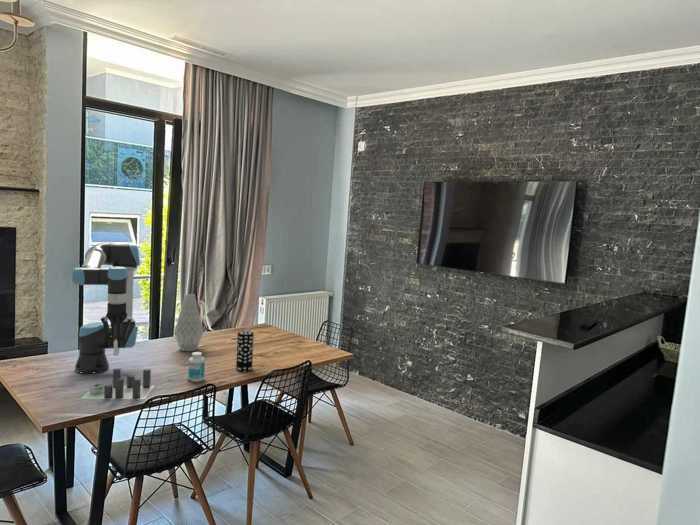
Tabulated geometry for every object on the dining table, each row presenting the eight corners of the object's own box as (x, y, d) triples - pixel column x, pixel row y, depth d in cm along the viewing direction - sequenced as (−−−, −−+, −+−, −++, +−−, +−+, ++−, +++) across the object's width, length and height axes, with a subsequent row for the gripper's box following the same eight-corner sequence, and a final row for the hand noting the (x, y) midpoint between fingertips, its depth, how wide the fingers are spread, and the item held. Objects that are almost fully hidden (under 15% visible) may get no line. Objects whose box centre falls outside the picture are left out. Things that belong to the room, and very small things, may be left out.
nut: (88, 394, 218) (88, 387, 218) (93, 389, 224) (93, 382, 224) (100, 394, 219) (100, 387, 219) (105, 389, 225) (105, 383, 224)
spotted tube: (236, 372, 262) (238, 334, 260) (235, 367, 270) (237, 331, 268) (252, 372, 264) (254, 334, 262) (251, 367, 272) (253, 330, 270)
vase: (206, 346, 307) (207, 293, 304) (198, 353, 291) (200, 297, 288) (178, 344, 307) (179, 291, 303) (169, 352, 290) (171, 296, 287)
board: (80, 401, 213) (80, 398, 213) (94, 387, 230) (94, 385, 230) (144, 401, 217) (144, 399, 217) (154, 387, 234) (154, 385, 233)
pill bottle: (198, 376, 253) (199, 350, 251) (207, 380, 248) (208, 353, 247) (185, 379, 247) (186, 352, 245) (193, 383, 242) (194, 356, 241)
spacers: (101, 398, 215) (102, 380, 214) (114, 385, 231) (114, 368, 230) (141, 398, 217) (142, 380, 216) (151, 385, 233) (151, 369, 232)
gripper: (98, 303, 214) (97, 357, 217) (130, 304, 216) (129, 357, 219) (104, 300, 222) (103, 351, 225) (135, 301, 224) (134, 352, 226)
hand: (116, 354), depth 222 cm, fingers closed
